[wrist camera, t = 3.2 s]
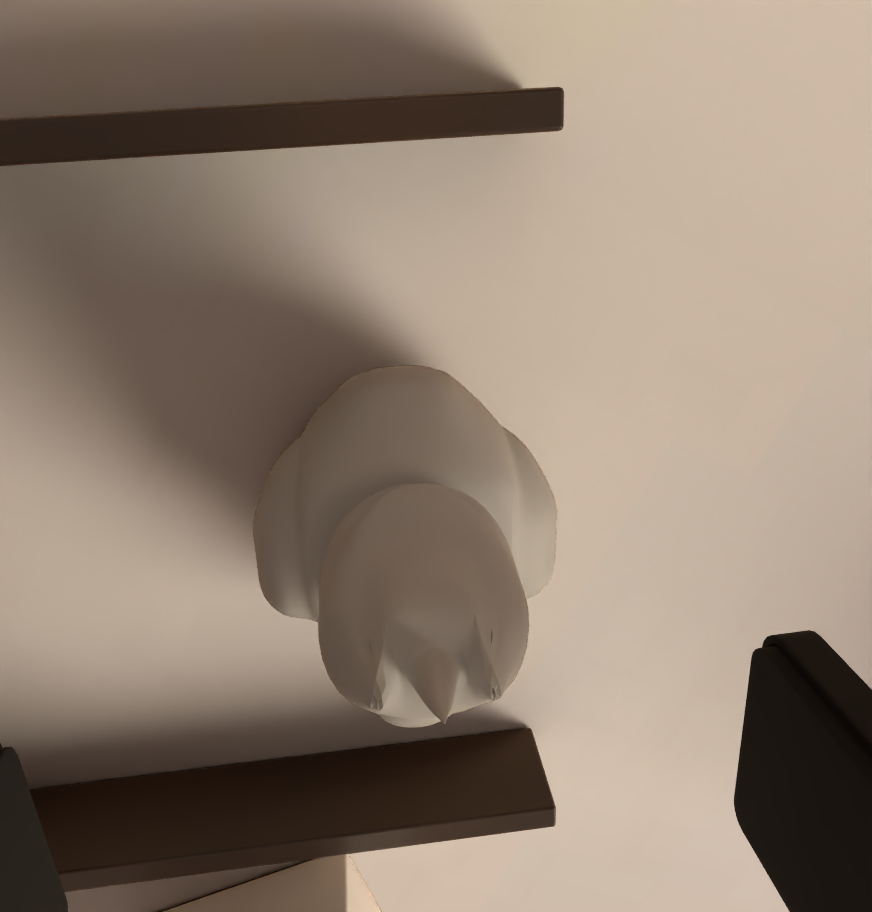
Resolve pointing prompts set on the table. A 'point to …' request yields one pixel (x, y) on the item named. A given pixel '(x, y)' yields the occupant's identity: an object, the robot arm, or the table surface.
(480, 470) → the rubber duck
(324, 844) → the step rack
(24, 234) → the table surface
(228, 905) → the milk
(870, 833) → the robot arm
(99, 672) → the table surface
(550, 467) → the table surface
